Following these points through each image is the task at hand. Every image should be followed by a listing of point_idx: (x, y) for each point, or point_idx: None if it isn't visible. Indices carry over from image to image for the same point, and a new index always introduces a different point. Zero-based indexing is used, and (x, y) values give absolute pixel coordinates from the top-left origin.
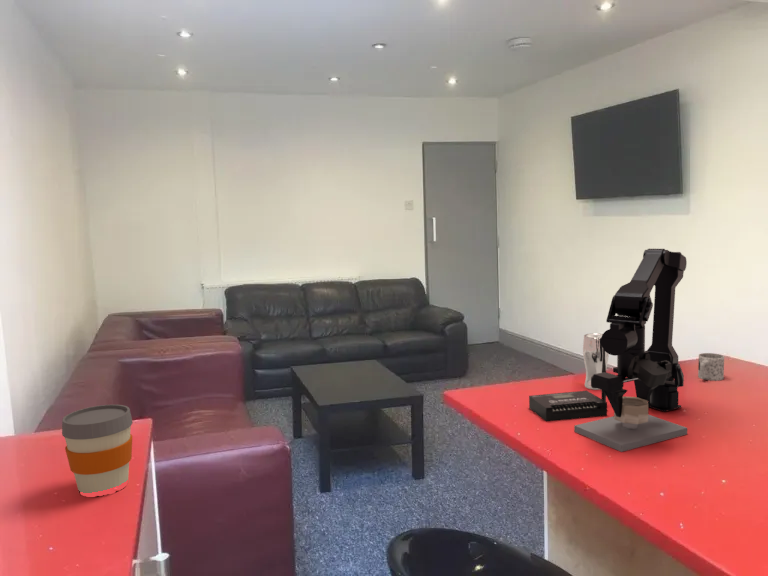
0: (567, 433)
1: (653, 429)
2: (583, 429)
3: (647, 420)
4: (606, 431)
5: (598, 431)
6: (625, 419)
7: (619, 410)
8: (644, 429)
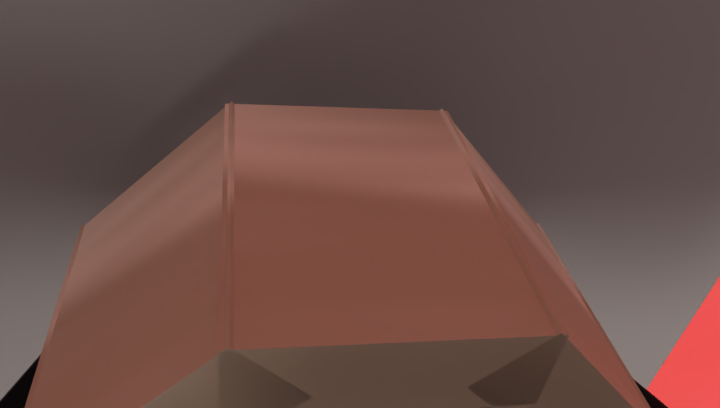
0: (666, 362)
1: (131, 15)
2: (674, 341)
3: (237, 117)
4: (614, 238)
5: (661, 266)
6: (554, 251)
7: (650, 394)
8: (246, 83)
